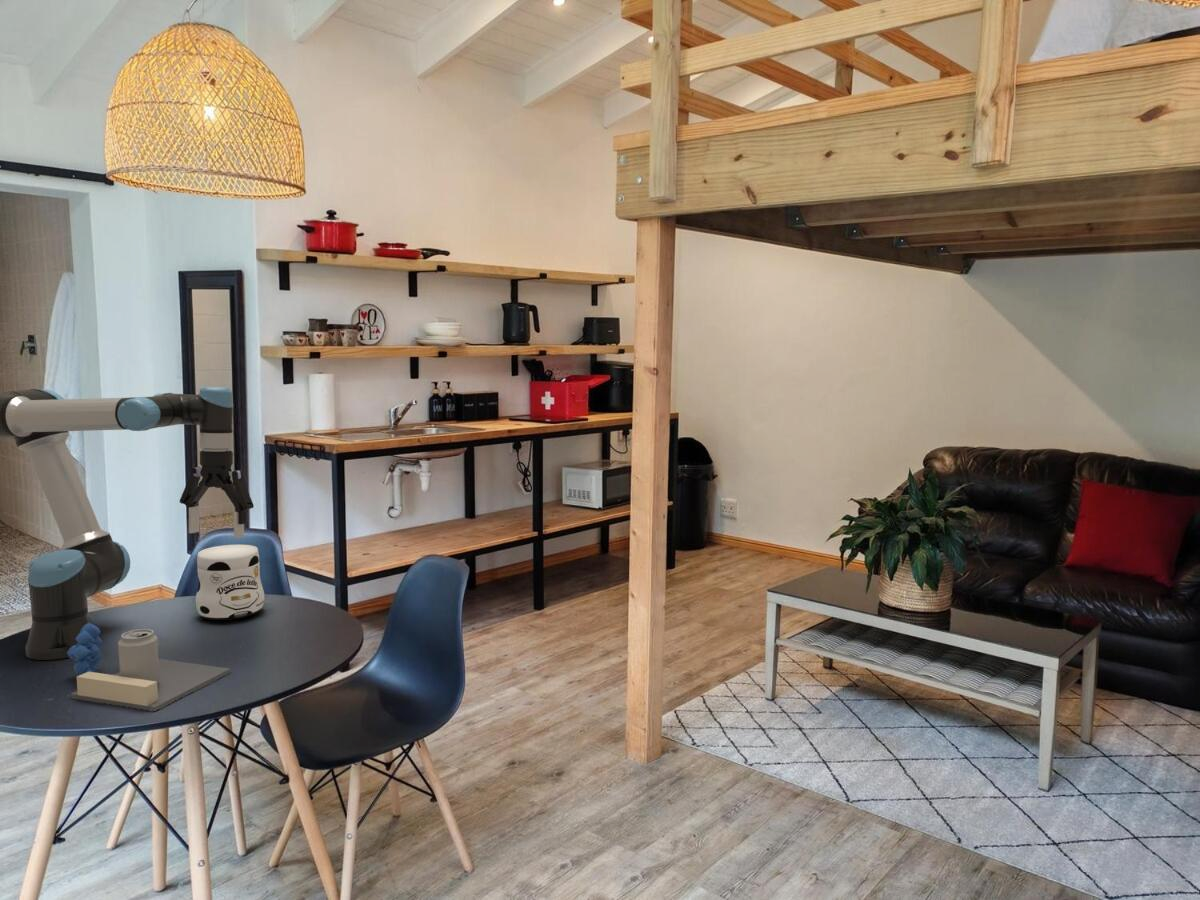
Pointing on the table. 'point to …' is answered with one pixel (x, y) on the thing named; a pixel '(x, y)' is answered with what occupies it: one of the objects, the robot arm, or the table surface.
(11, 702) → the table surface
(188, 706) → the table surface
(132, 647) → the can
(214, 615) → the milk container
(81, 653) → the grapes
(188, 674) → the stop plate
